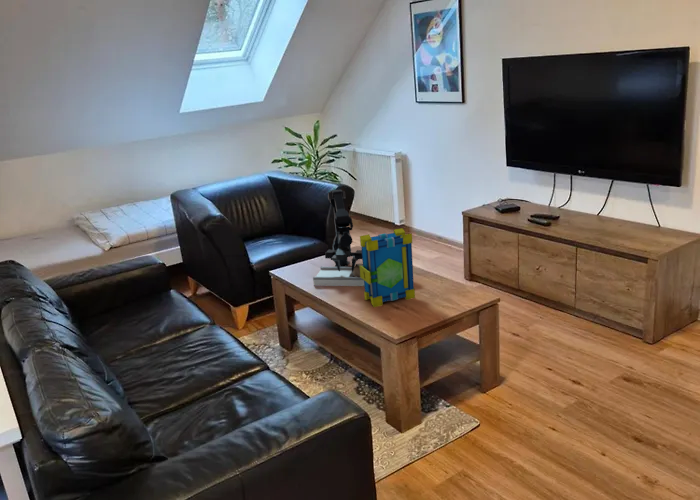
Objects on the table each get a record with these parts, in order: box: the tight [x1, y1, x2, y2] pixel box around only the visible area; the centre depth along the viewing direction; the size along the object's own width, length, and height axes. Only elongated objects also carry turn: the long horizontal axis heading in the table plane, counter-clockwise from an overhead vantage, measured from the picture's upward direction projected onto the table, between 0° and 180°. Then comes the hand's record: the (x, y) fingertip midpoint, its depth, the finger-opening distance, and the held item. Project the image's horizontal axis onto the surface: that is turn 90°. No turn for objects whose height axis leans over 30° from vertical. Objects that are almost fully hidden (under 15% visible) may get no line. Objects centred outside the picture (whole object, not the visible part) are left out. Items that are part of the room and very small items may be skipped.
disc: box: [353, 263, 363, 277], centre depth 306 cm, size 11×11×4 cm
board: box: [312, 266, 364, 287], centre depth 308 cm, size 15×31×5 cm, turn 77°
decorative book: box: [359, 227, 416, 308], centre depth 278 cm, size 14×23×30 cm, turn 111°
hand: (346, 271), depth 308 cm, fingers open, 6 cm apart
